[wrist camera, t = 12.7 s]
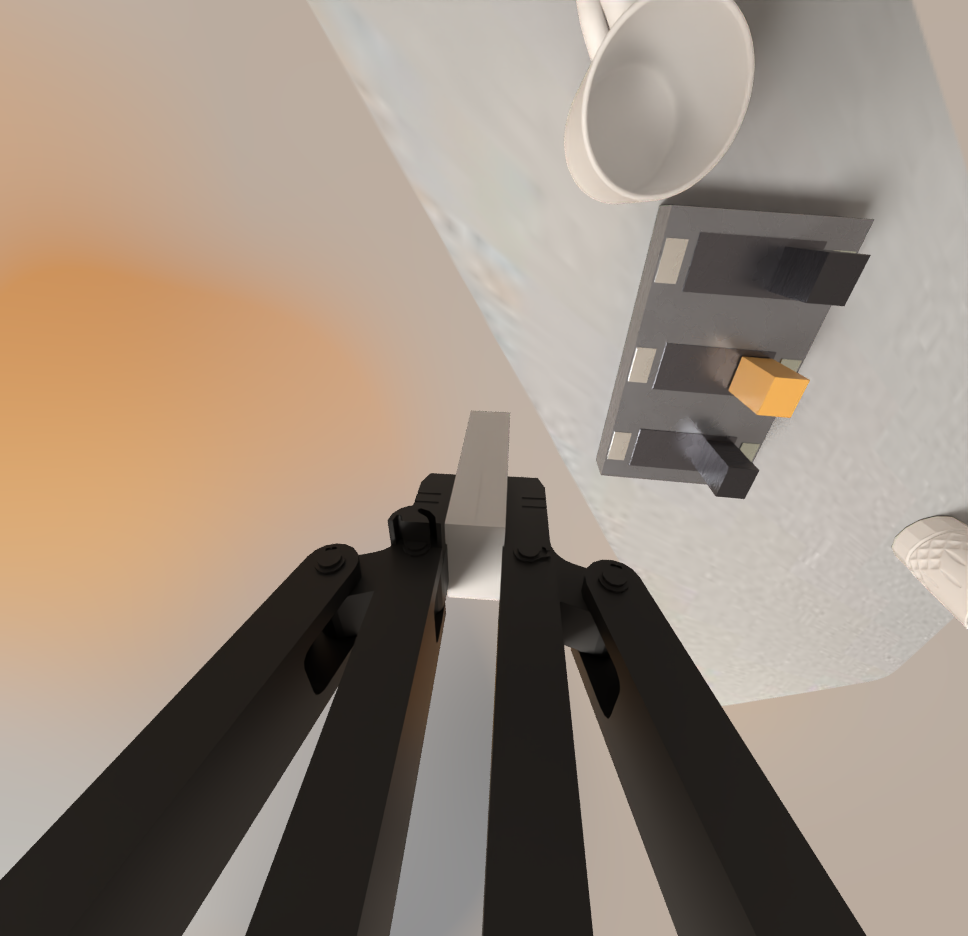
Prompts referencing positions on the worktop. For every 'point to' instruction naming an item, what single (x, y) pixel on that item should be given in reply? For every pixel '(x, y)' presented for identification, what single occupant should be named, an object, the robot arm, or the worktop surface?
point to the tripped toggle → (768, 386)
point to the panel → (719, 336)
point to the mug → (657, 95)
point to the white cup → (938, 560)
